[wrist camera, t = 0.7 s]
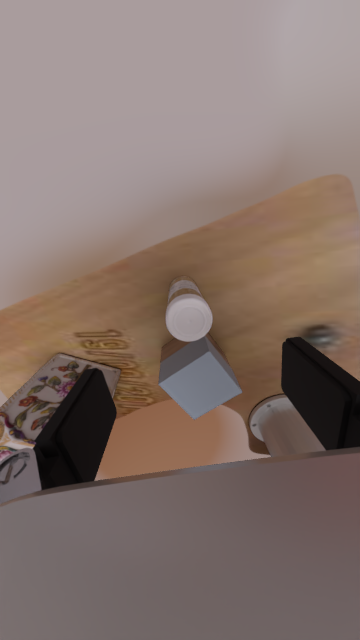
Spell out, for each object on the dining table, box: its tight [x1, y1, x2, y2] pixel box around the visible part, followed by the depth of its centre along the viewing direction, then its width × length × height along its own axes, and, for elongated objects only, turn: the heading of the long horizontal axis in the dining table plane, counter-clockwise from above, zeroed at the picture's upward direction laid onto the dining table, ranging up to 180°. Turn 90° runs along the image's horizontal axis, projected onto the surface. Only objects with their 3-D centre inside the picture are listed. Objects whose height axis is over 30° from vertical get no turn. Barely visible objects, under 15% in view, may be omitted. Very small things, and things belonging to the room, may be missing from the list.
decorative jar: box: [0, 353, 121, 461], centre depth 29 cm, size 12×12×18 cm
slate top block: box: [158, 336, 242, 420], centre depth 29 cm, size 8×8×5 cm
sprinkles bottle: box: [166, 276, 213, 342], centre depth 25 cm, size 5×5×14 cm
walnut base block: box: [160, 333, 231, 368], centre depth 33 cm, size 8×8×5 cm
